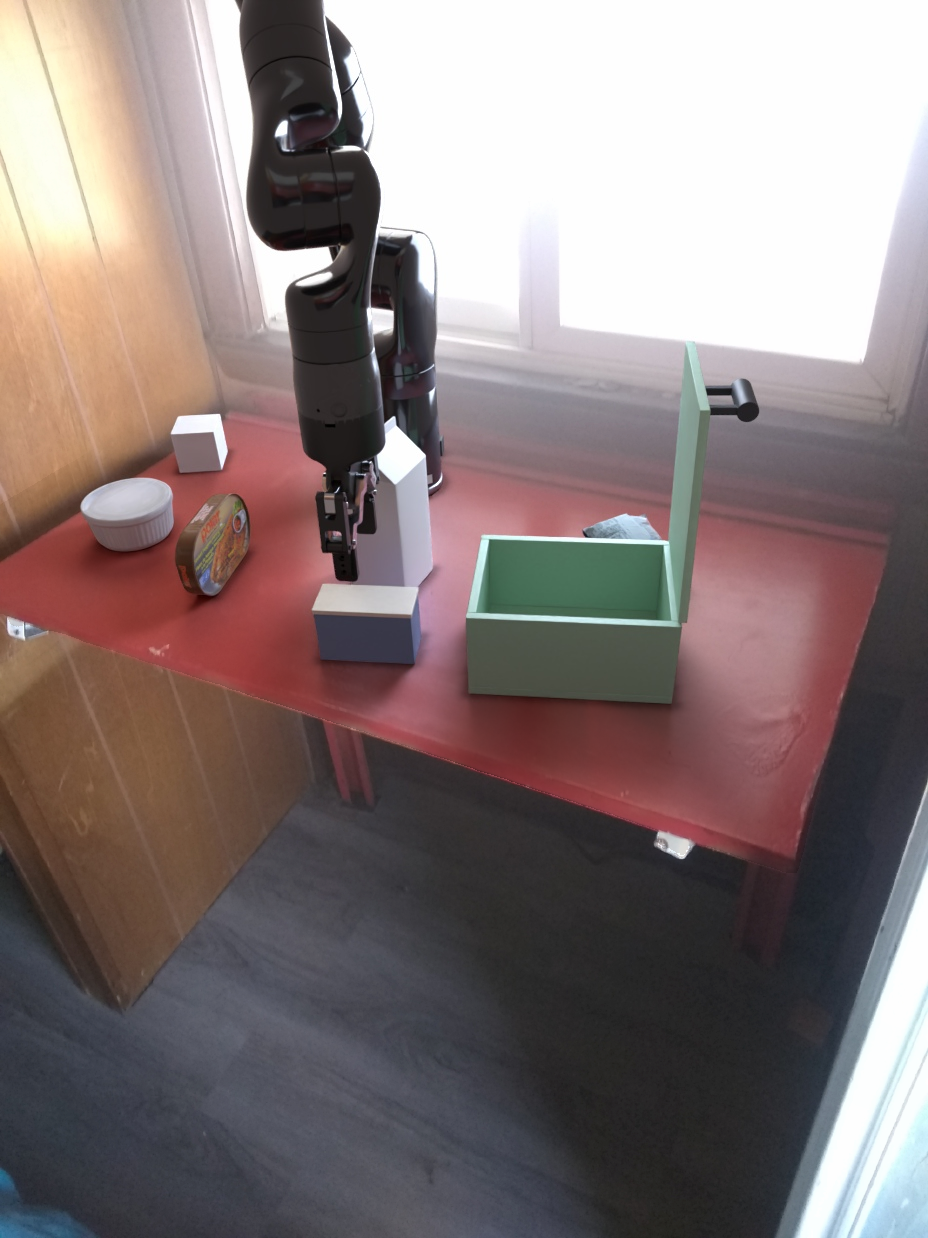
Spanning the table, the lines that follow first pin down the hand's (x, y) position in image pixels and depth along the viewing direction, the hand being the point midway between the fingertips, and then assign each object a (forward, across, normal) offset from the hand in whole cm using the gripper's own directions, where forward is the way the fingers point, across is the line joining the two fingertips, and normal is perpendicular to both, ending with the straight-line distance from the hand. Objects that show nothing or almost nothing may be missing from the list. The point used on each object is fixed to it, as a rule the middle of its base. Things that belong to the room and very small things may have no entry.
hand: (357, 555), depth 91 cm
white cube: (+12, -41, -33) cm, 54 cm away
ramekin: (+12, -21, -35) cm, 42 cm away
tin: (+12, -13, -21) cm, 27 cm away
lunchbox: (+12, -1, +21) cm, 24 cm away
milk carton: (+12, -13, 0) cm, 18 cm away
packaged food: (+12, -18, +28) cm, 36 cm away
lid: (-8, -1, +31) cm, 32 cm away
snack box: (+12, 0, 0) cm, 12 cm away
